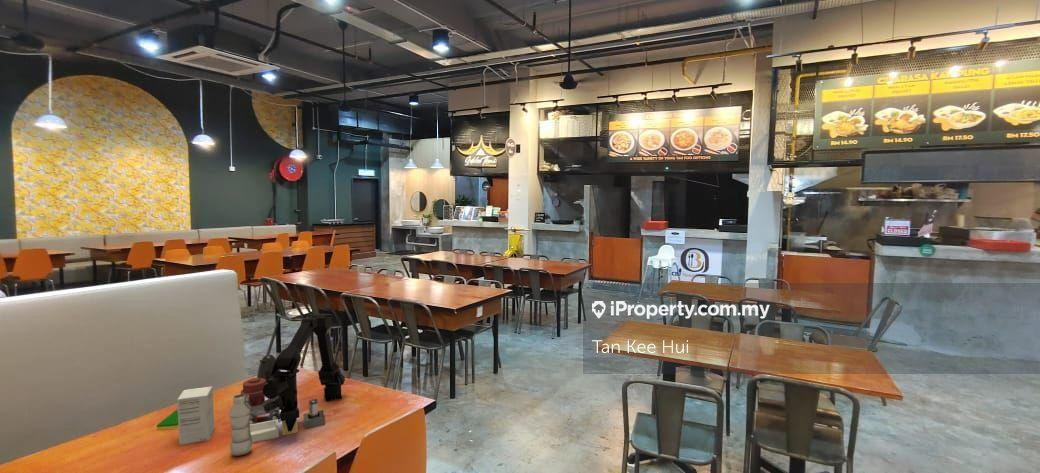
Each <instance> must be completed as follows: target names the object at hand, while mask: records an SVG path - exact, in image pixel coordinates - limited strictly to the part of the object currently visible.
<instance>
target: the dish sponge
mask: <svg viewBox="0 0 1040 473" xmlns="http://www.w3.org/2000/svg"><path fill="white" fill-rule="evenodd" d="M177 429H178V430H179V425H178V409H175V410H174V411H173V412H172V413H170V414H169V415H168V416H166V417H165V418H164V419H162V421H160V422H159V423H158V424H156V431H167V430H177Z"/></svg>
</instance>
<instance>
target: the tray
mask: <svg viewBox="0 0 1040 473" xmlns="http://www.w3.org/2000/svg"><path fill="white" fill-rule="evenodd" d="M279 429H280V428H279V421H278V419H276V420H271V421H269V420H267V421H262V422H257V423H256V424H250V432H251V438H252V442H253V444H256V443H259V442H265V441H269V440H273V439H277V438H278V439H279V438H280V435H279V434H280V431H279Z"/></svg>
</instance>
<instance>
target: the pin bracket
mask: <svg viewBox="0 0 1040 473" xmlns="http://www.w3.org/2000/svg"><path fill="white" fill-rule="evenodd" d="M302 416H303V425H304V427H303V428H304V430H307V429H311V428H316V427H317V428H318V427H321V426H325V422H326V421H325V418H326V417H325V415H324V410H323V409H322V410H318V417H316V418H311V419H310V414H309V412H307V413H303V414H302Z"/></svg>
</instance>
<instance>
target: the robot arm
mask: <svg viewBox="0 0 1040 473" xmlns="http://www.w3.org/2000/svg"><path fill="white" fill-rule="evenodd" d="M332 327H333V318H332V315H331V314H329V313H313V314H311V316H306V317H304V318H302V319H301V321H300V326H299V327H298V328H297V330H296V332H295V334H294V336H293V338H292V339H291V341H290V342H289V343H288V346H287V347H286V348H285V349H283V350H281V351H280V353H279V354H278V355H277V357H275V358H276V360H275V363H274V366H273V368H272V371H271V374H270V376H274V377H273V378H270V379H268V383H267V384H265V385H264V387H263V394H264V396H265V399H266V400H265V401H264V402H263V408H264V411H266V413H269V412H270V411H272V410H274V409H276V408H278V407H279V408H280V411H279V413H280V420H279V422H282V421H286V425H287V428H288V431H292V429H293V426H294V424H295V422H296V419H297V420H298V419H299V418H300V408H299V407H298V406H299V405H298V387H297V386H298V385H297V383H298V381H297V374H298V373H299V372H300V369H298V368H299V365H300V362H301V360H302V354H301V353H302V351H303V349H304V347H305V344H306V343H307V342H308V340H309V338H310V336H311V334H312V332H313V333H314V334H315V335H316V338H317V344H318V350H319V356H320V361H321V367H320V369H319V370H318V372H317V373H318V380H319V382H320V385H321V386H324V387H323V398H324V400H325V401H326V402H330V401H334V400H336V401H337V400H340V399H341V400H342V399H343V396H342V385H344V384H345V382H346V376H344V374H343V373H342V372H341V369H340V366H339V365H338V364H337V363H336V361H335V359H334V358H335V357H334V352H333V347H332V346H333V345H332V340H331V334H330V330H331V329H332ZM278 370H281V371H278Z"/></svg>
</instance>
